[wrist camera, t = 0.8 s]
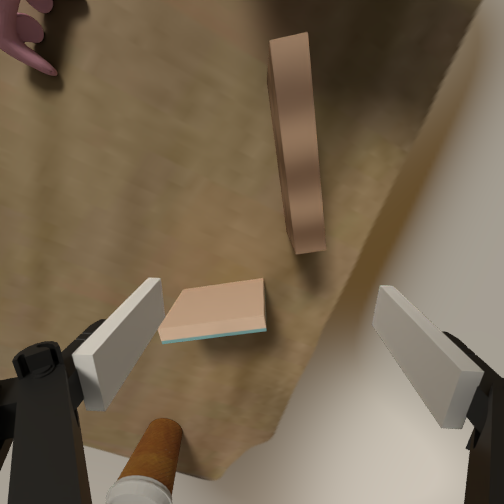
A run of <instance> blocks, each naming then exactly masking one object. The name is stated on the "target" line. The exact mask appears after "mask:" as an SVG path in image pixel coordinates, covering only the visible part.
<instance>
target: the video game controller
mask: <svg viewBox="0 0 504 504" xmlns="http://www.w3.org/2000/svg"><path fill="white" fill-rule="evenodd" d="M26 1H27V2H28V3H29V4H30V5H31V6H33V7H34V8H35V9H36V10H38V11H39V12H41V13H48V12H50V11H51V9H52V7H53V1H52V0H26ZM19 3H20V0H0V49H2V50H3V51H4V52H6V53H7V54H9V55H10V56H12V57H14V58H15V59H17V60H19V61H21V62H23V63H25V64H27V65H29V66H31V67H33V68H35V69H37V70H39V71H41V72H43V73H45V74H48V75H52V76H56V75H57V71H56V70H55V68H54V67H53V66H52V65H51V64H50V63H49V62H47V61H46V60H45V59H44V58H42V57H41V56H40V55H38V54H37V53H36V52H35V51H33V50H32V49H30V48H29V47H27V46H26V45H25V44H24V43H25V42H33V43H39V42H41V41H42V40H43V37H44V32H43V29H42V27H41V25H40V24H39V23H38V21H36V20H35V19H34V18H32V17H31V16H29V15H27V14H24V13H17V12H18V7H19Z"/></svg>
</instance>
